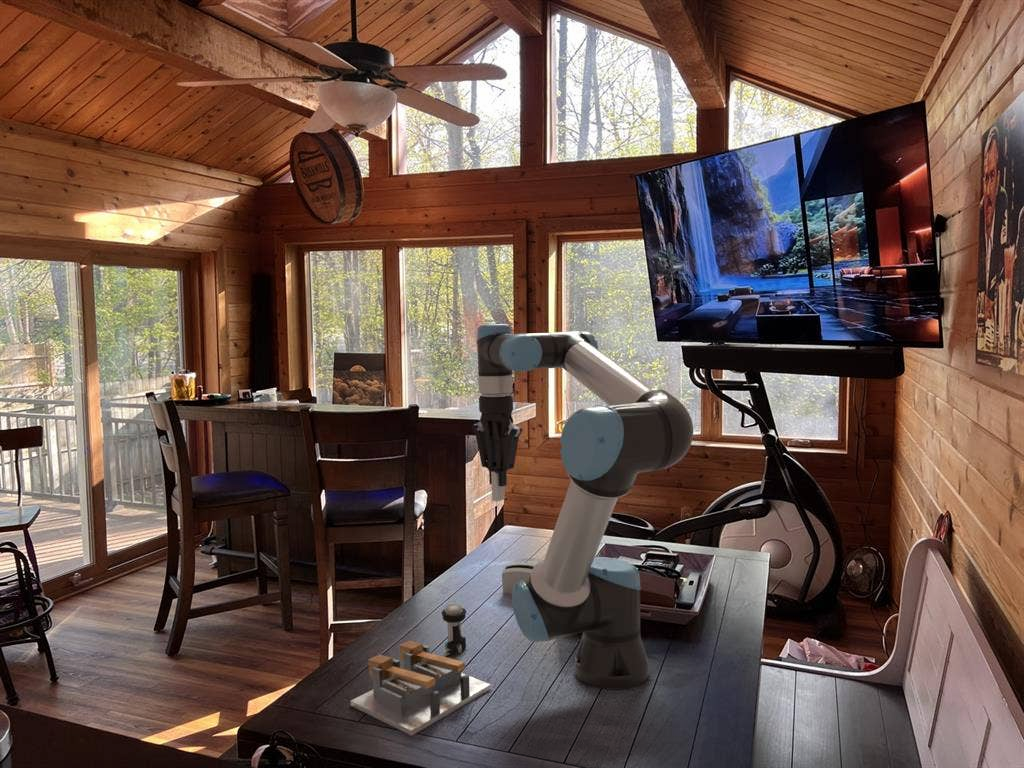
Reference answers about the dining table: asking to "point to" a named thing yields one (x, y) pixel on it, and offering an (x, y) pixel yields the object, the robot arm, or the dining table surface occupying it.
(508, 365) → the robot arm
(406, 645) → the strap right
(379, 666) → the strap left
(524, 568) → the pale grey rounded block
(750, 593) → the dining table surface
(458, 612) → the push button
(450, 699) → the heatsink base
